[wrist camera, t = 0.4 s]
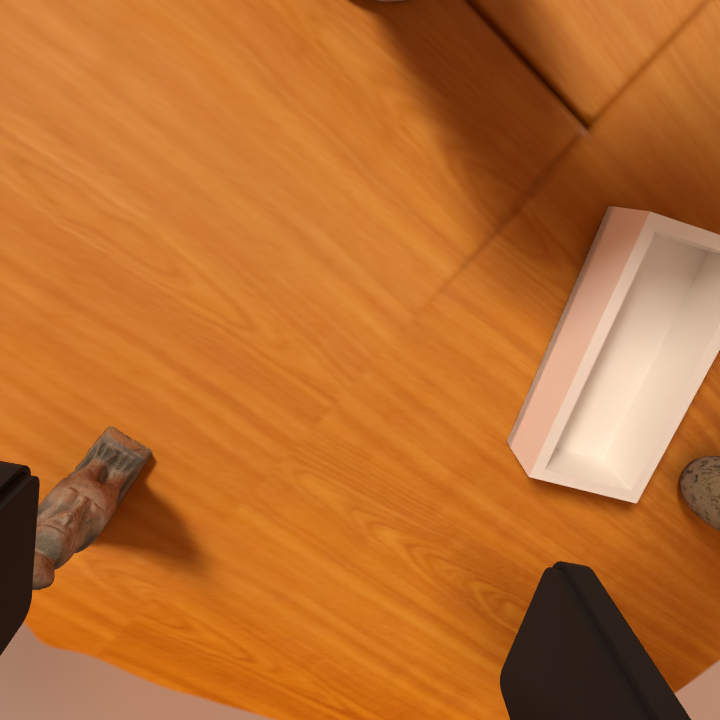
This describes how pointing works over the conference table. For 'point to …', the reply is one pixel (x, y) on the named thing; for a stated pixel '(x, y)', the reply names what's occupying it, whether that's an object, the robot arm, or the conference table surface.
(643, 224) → the open rectangular box
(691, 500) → the decorative egg
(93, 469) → the brown carved statuette
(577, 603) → the robot arm
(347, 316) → the conference table surface
